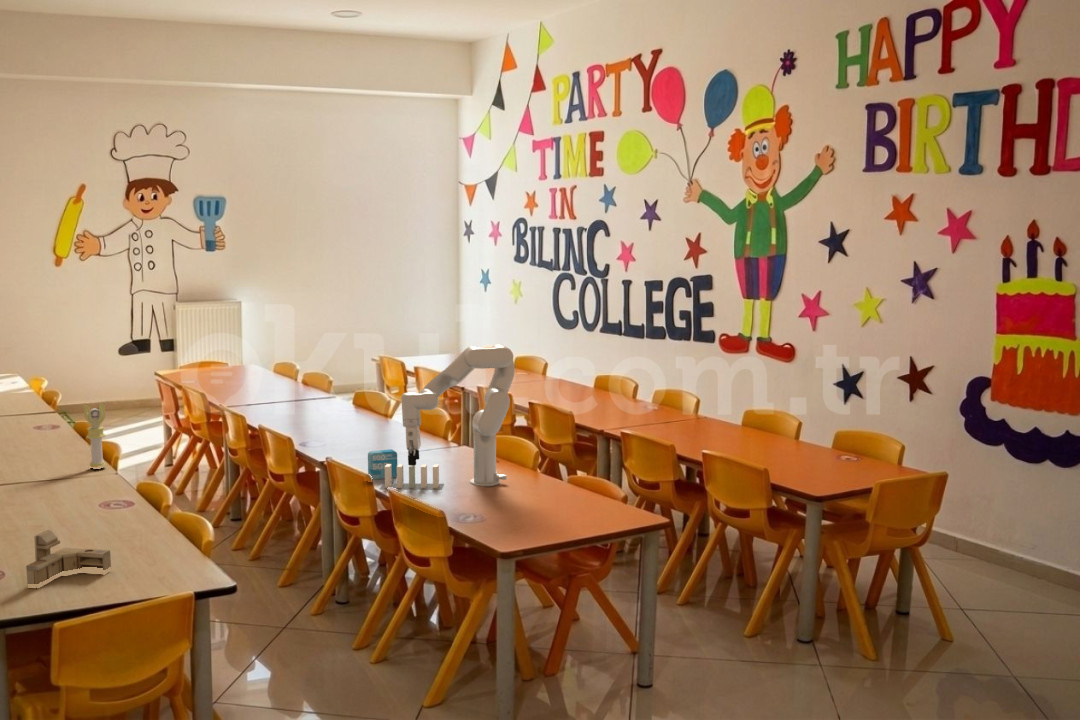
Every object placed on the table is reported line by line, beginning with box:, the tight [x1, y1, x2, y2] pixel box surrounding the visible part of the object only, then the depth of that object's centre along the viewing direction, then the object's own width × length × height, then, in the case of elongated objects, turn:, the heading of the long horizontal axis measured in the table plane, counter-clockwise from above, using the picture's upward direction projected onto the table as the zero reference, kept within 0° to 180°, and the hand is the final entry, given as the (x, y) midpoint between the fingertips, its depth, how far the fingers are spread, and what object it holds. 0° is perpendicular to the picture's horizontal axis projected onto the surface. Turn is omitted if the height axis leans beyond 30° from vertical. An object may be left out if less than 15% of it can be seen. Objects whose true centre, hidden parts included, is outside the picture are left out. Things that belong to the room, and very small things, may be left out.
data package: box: [367, 449, 398, 480], centre depth 439 cm, size 12×4×12 cm, turn 115°
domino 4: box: [420, 463, 428, 488], centre depth 423 cm, size 2×5×9 cm, turn 179°
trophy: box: [83, 402, 106, 467], centre depth 453 cm, size 8×8×30 cm
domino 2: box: [396, 463, 405, 488], centre depth 423 cm, size 2×5×9 cm, turn 179°
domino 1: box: [384, 464, 393, 488], centre depth 423 cm, size 2×5×9 cm, turn 179°
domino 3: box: [408, 465, 416, 488], centre depth 423 cm, size 2×5×9 cm, turn 0°
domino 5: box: [432, 463, 440, 488], centre depth 423 cm, size 2×5×9 cm, turn 179°
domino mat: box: [379, 482, 445, 491], centre depth 424 cm, size 26×10×1 cm, turn 89°
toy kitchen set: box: [25, 529, 112, 584], centre depth 312 cm, size 18×17×15 cm
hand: (413, 462), depth 423 cm, fingers open, 9 cm apart
